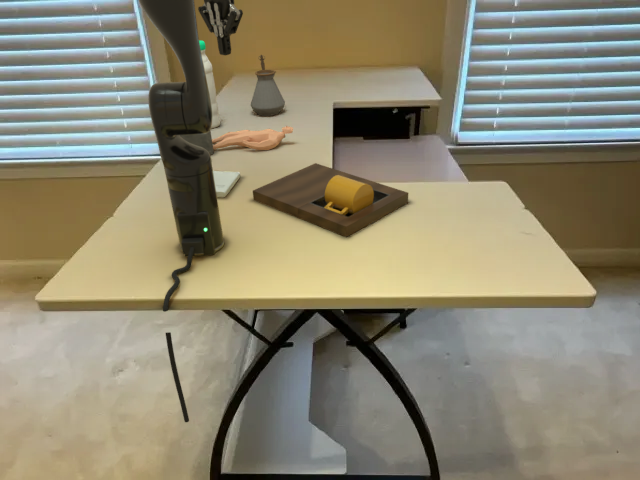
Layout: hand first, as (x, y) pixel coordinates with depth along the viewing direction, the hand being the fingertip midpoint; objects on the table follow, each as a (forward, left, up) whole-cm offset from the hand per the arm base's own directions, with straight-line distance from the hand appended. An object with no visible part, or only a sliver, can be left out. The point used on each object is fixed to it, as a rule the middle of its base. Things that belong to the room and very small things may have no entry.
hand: (225, 54), depth 135 cm
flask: (+23, +17, -31) cm, 42 cm away
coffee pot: (+64, -4, -31) cm, 71 cm away
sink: (-18, -27, -31) cm, 45 cm away
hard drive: (-1, +6, -31) cm, 32 cm away
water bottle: (+48, +14, -31) cm, 59 cm away
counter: (-13, -22, -31) cm, 40 cm away
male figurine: (+28, -1, -31) cm, 42 cm away
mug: (-17, -23, -28) cm, 39 cm away
